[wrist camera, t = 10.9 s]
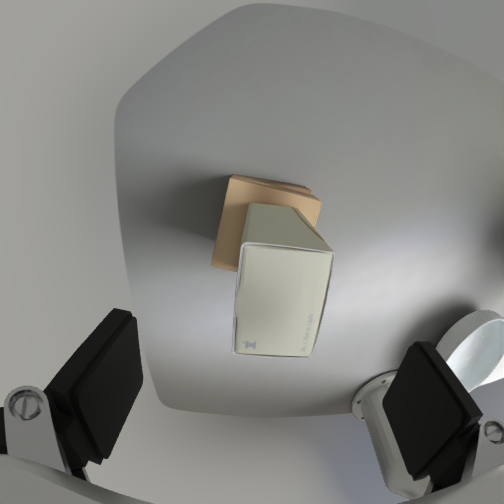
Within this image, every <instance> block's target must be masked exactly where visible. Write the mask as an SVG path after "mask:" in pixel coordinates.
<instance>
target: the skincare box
mask: <svg viewBox="0 0 504 504" xmlns="http://www.w3.org/2000/svg"><path fill="white" fill-rule="evenodd" d="M334 259H335V253H334V252H333V250H332V249H331V248H330V247H329V246H328V244H327V243H326V242H325V241H324V239H323V238H322V237H321V236H320V234H319V233H318V232H317V231H316V229H315V228H314V227H313V226H312V225H311V223H310V222H309V221H308V220H307V219H306V217H305V216H304V215H303V214H302V213H301V211H300V210H299V209H298V208H293V207H286V206H279V205H270V204H261V203H250V204H249V206H248V211H247V216H246V222H245V226H244V231H243V236H242V241H241V247H240V255H239V264H238V273H237V283H236V293H235V305H234V320H233V339H232V354H234V355H245V356H256V357H270V358H293V359H309V358H311V356H312V354H313V351H314V348H315V344H316V342H317V338H318V334H319V331H320V327H321V323H322V319H323V315H324V310H325V306H326V302H327V297H328V292H329V288H330V282H331V277H332V271H333V266H334Z"/></svg>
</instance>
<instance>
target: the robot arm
mask: <svg viewBox="0 0 504 504" xmlns="http://www.w3.org/2000/svg"><path fill="white" fill-rule="evenodd" d="M142 383H143V372H142V365H141V357H140V348H139V340H138V328H137V319H136V317H133V316H132V313H131V312H130V311H126V310H120V309H117V308H114V309H113V310H112V311H111V312H110V313H109V314H108V315H107V316H106V317H105V318H104V319H103V321H102V322H101V323H100V324H99V325H98V326H97V327H96V329H95V330H94V331H93V332H92V333H91V334H90V335H89V337H88V338H87V339H86V340H85V341H84V342H83V343H82V344H81V346H80V347H79V348H78V349H77V350H76V351H75V352H74V354H73V355H72V356H71V357H70V359H69V360H68V361H67V362H66V363H65V365H64V366H63V367H62V368H61V369H60V371H59V372H58V373H57V374H56V376H55V377H54V378H53V379H52V381H51V382H50V383H49V385H48V386H47V387H46V388H45V389H44V391H42V390H40V389H38V388H37V387H33V386H21V387H18V388H16V389H14V390H12V391H11V392H10V393H9V394H8V395H7V397H6V399H5V403H4V407H0V504H153V503H149V502H146V501H142V500H138V499H135V498H131V497H128V496H125V495H122V494H119V493H116V492H113V491H110V490H108V489H104V488H102V487H99V486H97V485H94V484H92V483H91V482H90V480H89V477H88V475H87V473H86V470H85V467H86V465H87V463H88V461H92V462H94V463H96V464H99V465H101V463H102V460H103V458H104V459H108V458H109V456H110V454H111V452H112V449H113V447H114V445H115V443H116V440H117V438H118V436H119V434H120V432H121V429H122V427H123V425H124V423H125V421H126V418H127V416H128V414H129V412H130V410H131V408H132V406H133V403H134V401H135V399H136V397H137V395H138V393H139V391H140V389H141V387H142ZM351 408H352V412H353V415H354V416H355V417H356V418H357V419H359V420H362V421H365V423H366V425H367V429H368V432H369V435H370V438H371V441H372V444H373V447H374V450H375V453H376V457H377V460H378V463H379V466H380V470H381V473H382V476H383V480H384V483H385V485H386V487H387V488H388V489H389V490H390V491H391V492H392V493H394V494H396V495H399V496H402V497H405V498H408V499H410V500H409V501H406V502H403V503H399V504H504V424H503V423H502V422H501V421H500V420H498V419H495V418H487V419H485V420H483V422H482V423H481V424H480V425H479V424H478V421H479V420H480V418H481V417H482V416H483V414H482V412H481V411H480V409H479V408H478V406H477V405H476V403H475V402H474V400H473V399H472V397H471V396H470V394H469V393H468V392H467V390H466V389H465V387H464V386H463V385H462V383H461V382H460V380H459V379H458V378H457V376H456V375H455V374H454V372H453V371H452V369H451V368H450V367H449V365H448V364H447V363H446V362H445V360H444V359H443V358H442V356H441V355H440V354H439V352H438V351H437V350H436V349H435V347H434V346H433V345H432V343H430V342H428V341H417V342H415V343H413V345H412V346H410V347H409V349H408V351H407V353H406V355H405V357H404V359H403V361H402V363H401V365H400V367H399V369H398V371H394V372H389V373H386V374H383V375H381V376H379V377H377V378H375V379H373V380H372V381H370V382H369V383H367V384H366V385H365V386H364V387H362V388H361V389H360V390H359V392H358V393H357V394H356V395H355V397H354V399H353V401H352V405H351Z"/></svg>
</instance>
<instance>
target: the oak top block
mask: <svg viewBox="0 0 504 504" xmlns="http://www.w3.org/2000/svg"><path fill="white" fill-rule="evenodd" d="M250 203H261V204H270V205H279V206H286V207H293V208H298V209H299V210H300V211H301V213H302V214H303V215H304V216H305V217H306V219H307V220H308V221H309V222H310V223H311V225H312V226H313V227H314V228H315V225H316V222H317V218H318V215H319V211H320V208H321V205H322V201H321V200H319V199H318V198H316V197H315V196H314V195H310V194H307V193H303V192H300V191H296V190H292V189H288V188H285V187H281V186H277V185H273V184H269V183H265V182H261V181H257V180H252V179H248V178H244V177H240V176H235V175H233V176H232V177H231V178H230V180H229V185H228V189H227V193H226V198H225V202H224V207H223V211H222V216H221V220H220V225H219V229H218V234H217V239H216V244H215V248H214V253H213V258H212V263H211V266H213V267H217V268H221V269H226V270H230V271H234V272H238V264H239V255H240V247H241V241H242V236H243V231H244V226H245V222H246V216H247V211H248V206H249V204H250Z"/></svg>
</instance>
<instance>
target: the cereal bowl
mask: <svg viewBox="0 0 504 504" xmlns="http://www.w3.org/2000/svg"><path fill="white" fill-rule="evenodd" d="M435 349H436V350H437V351H438V352H439V354H440V355H441V356H442V358H443V359H444V360H445V362H446V363H447V364H448V365H449V367H450V368H451V369H452V371H453V372H454V374H455V375H456V376H457V378H458V379H459V380H460V382H461V383H462V385H463V386H464V387H465V389H466V390H467V392H468V393H469V392H470V391H472V390H473V389H475V388H476V387H477V386H479V385H480V384H481V383H482V382H483V381H484V380H485V379H486V378H487V377H488V376H489V375H490V374H491V373H492V371H493V370H494V369H495V367H496V366H497V365H498V363H499V362H500V360H501V358H502V357H503V355H504V318H503V317H502V316H501V315H499V314H498V313H496V312H493V311H490V310H479V311H475V312H472V313H470V314H468V315H466V316H465V317H463V318H462V319H460V320H459V321H458V322H456V323H455V324H454V325H453V326H452V327H451V328H450V329H449V330H448V331H447V332H446V333H445V335H444V336H443V337H442V339H441V340H440V342H439V343H438V345H437V347H436V348H435Z"/></svg>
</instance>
